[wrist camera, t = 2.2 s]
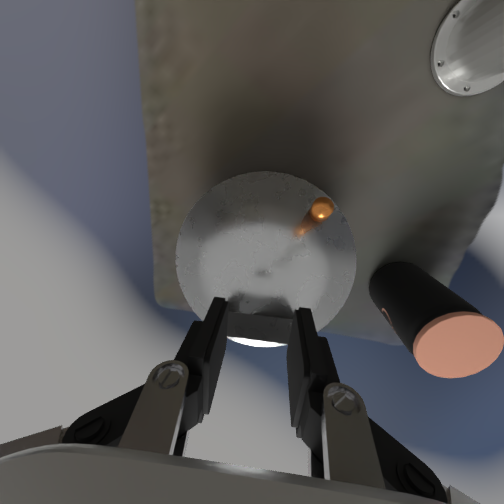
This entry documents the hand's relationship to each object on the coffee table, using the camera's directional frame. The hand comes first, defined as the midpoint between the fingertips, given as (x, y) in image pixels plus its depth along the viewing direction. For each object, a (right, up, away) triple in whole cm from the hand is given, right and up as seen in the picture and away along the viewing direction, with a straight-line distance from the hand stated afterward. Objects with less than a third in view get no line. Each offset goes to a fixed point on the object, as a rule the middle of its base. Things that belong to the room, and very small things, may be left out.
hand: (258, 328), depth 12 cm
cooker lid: (+1, +4, +17) cm, 17 cm away
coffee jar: (+29, -3, +36) cm, 46 cm away
